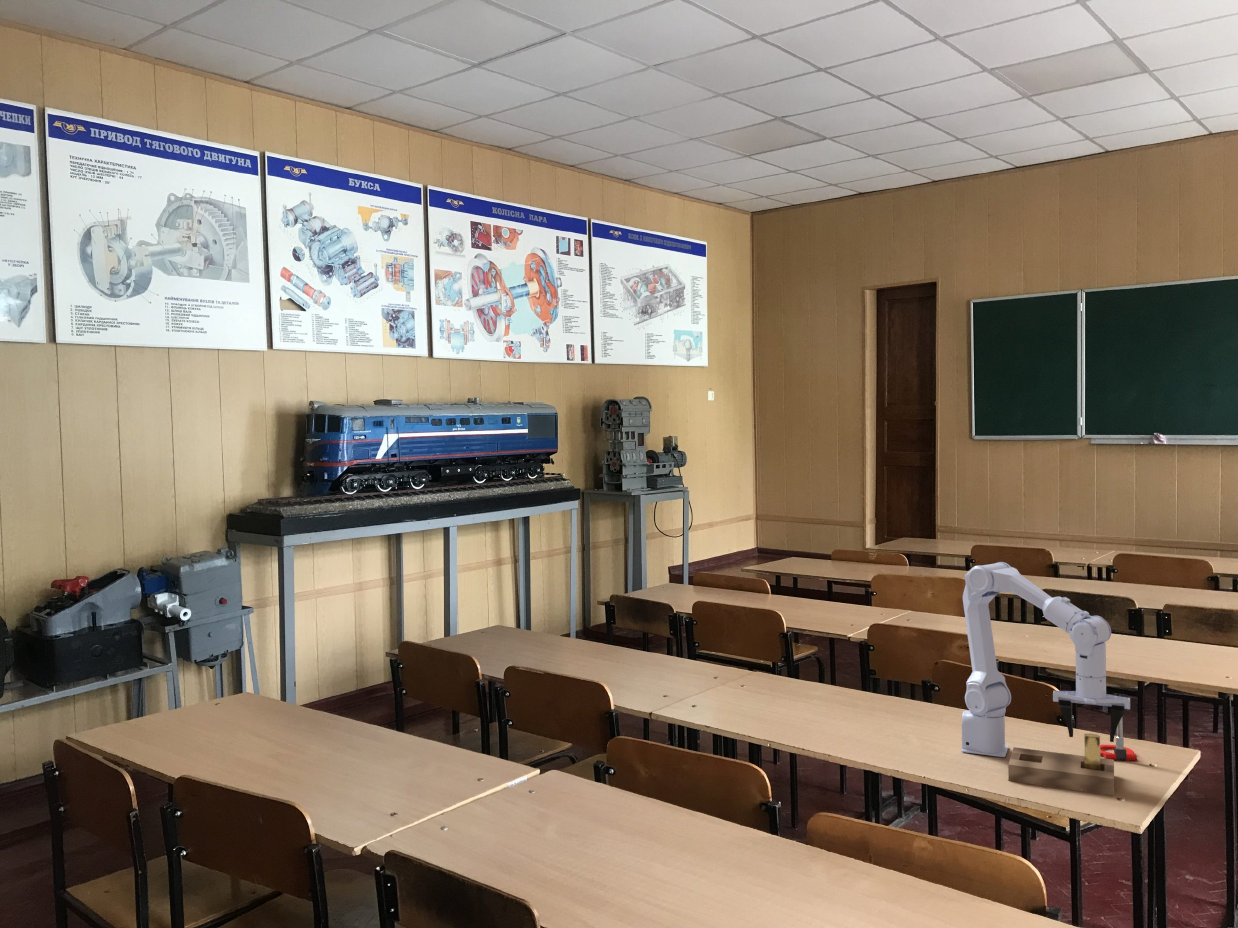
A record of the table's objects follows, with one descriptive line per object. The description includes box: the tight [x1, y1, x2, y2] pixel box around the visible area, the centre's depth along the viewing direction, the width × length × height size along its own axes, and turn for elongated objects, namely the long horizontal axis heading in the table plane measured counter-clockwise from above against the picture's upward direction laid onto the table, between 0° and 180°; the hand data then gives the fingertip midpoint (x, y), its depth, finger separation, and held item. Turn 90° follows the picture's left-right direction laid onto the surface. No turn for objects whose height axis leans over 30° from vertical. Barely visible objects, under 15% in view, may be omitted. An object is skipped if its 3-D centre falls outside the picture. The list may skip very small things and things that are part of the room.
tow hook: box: [1100, 717, 1138, 761], centre depth 215 cm, size 8×13×9 cm
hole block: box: [1007, 746, 1115, 796], centre depth 201 cm, size 20×12×4 cm, turn 62°
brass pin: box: [1083, 733, 1101, 771], centre depth 198 cm, size 3×3×10 cm
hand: (1091, 738), depth 198 cm, fingers open, 7 cm apart
